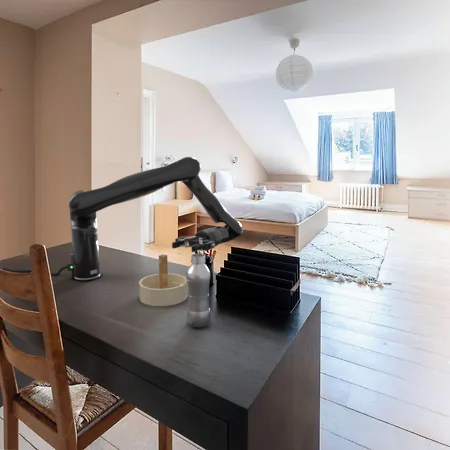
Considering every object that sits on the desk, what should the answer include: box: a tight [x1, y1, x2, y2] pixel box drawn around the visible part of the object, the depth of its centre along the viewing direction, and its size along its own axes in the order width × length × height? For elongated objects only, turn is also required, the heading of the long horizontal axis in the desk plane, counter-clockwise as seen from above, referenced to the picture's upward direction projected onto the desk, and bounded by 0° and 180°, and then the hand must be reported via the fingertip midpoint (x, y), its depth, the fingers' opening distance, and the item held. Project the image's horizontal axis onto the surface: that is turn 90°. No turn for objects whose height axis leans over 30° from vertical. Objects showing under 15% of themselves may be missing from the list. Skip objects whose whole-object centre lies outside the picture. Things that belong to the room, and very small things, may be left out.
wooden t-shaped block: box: [158, 253, 169, 289], centre depth 115 cm, size 5×2×14 cm, turn 59°
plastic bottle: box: [185, 253, 212, 328], centre depth 96 cm, size 6×7×20 cm
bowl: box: [138, 272, 189, 307], centre depth 116 cm, size 16×16×6 cm
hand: (182, 247), depth 122 cm, fingers open, 8 cm apart
